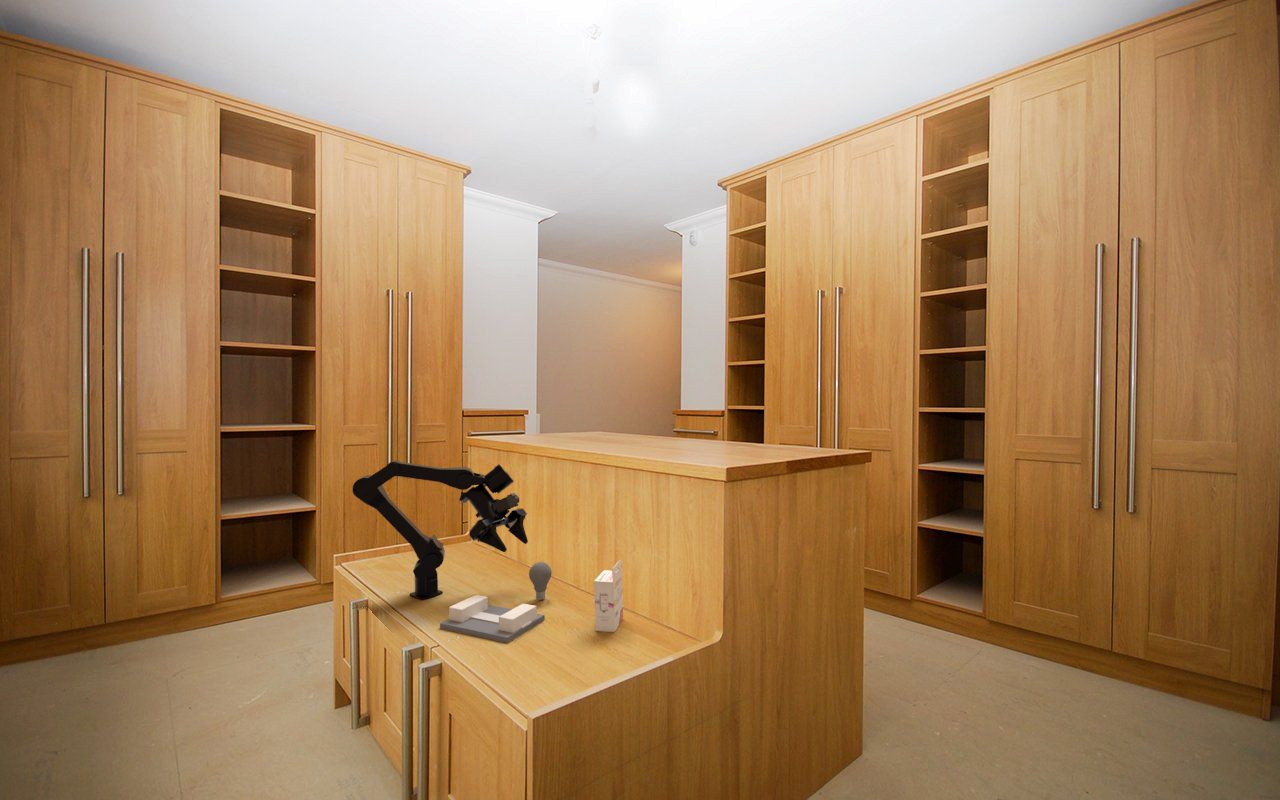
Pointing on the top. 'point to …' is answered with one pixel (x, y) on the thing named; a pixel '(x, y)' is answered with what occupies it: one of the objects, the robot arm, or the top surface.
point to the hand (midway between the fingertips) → (516, 546)
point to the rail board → (491, 619)
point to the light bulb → (540, 578)
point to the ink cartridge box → (609, 599)
